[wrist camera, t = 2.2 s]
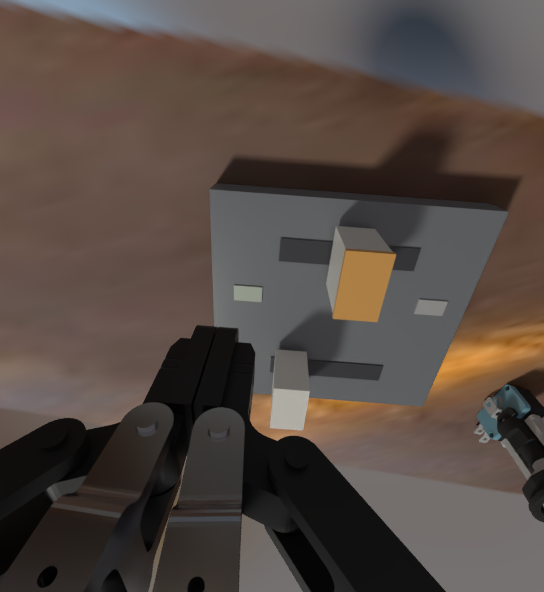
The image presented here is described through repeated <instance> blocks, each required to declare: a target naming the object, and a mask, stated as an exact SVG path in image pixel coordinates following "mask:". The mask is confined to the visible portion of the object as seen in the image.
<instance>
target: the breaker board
mask: <svg viewBox="0 0 544 592" xmlns="http://www.w3.org/2000/svg"><path fill="white" fill-rule="evenodd" d="M508 213H509V211H506V210H504V209H502V208H500V207H497V206H495V205H493V204H491V203H478V202H464V201H451V200H437V199H424V198H411V197H397V196H384V195H370V194H357V193H344V192H330V191H317V190H303V189H290V188H276V187H263V186H250V185H236V184H223V183H216V184H215V185H214V186H212V187H211V188H210V216H211V244H212V273H213V301H214V327H229V328H238V329H239V342H242V343H251V344H252V347H253V349H254V351H255V373H254V388H253V393H257V394H270V395H272V401H271V419H270V428H277V429H290V430H303V428H304V422H305V416H306V410H307V405H308V399H309V398H321V399H334V400H346V401H359V402H372V403H385V404H397V405H410V406H423V405H424V403H425V400H426V398H427V396H428V394H429V391H430V389H431V387H432V385H433V382H434V380H435V378H436V376H437V373H438V371H439V369H440V366H441V364H442V362H443V360H444V357H445V355H446V353H447V351H448V348H449V346H450V344H451V342H452V339H453V337H454V335H455V333H456V330H457V328H458V326H459V324H460V321H461V319H462V317H463V314H464V312H465V310H466V308H467V305H468V303H469V301H470V299H471V296H472V294H473V292H474V290H475V287H476V285H477V283H478V281H479V278H480V276H481V274H482V272H483V269H484V267H485V265H486V262H487V260H488V258H489V256H490V253H491V251H492V249H493V247H494V244H495V242H496V240H497V238H498V235H499V233H500V231H501V229H502V226H503V224H504V222H505V220H506V217H507V215H508ZM336 226H344V227H357V228H371V229H376V231H377V232H378V233H379V235H380V236H381V237H382V239H383V240H384V241H385V243H386V244H387V245H388V247H389V248H390V249H391V250H392V252H395V253H396V258H395V261H394V265H393V268H392V272H391V275H390V279H389V283H388V286H387V290H386V293H385V297H384V300H383V304H382V307H381V311H380V314H379V318H378V322H367V321H354V320H341V319H333V317H332V314H333V312H332V308H331V303H330V299H329V294H328V290H327V285H326V281H327V275H328V269H329V264H330V258H331V252H332V246H333V240H334V234H335V228H336Z"/></svg>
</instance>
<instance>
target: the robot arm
mask: <svg viewBox="0 0 544 592" xmlns="http://www.w3.org/2000/svg"><path fill="white" fill-rule="evenodd" d="M254 373H255V351H254V349H253V347H252V344H251V343H242V342H239V329H238V328H229V327H214V326H201V325H197V326H196V328H195V330H194V332H193V335H192V337H191V339H188V338H180V339H179V340H178V341H177V342H176V343H174V344H173V345H172V346H171V347H170V349H169V351H168V353H167V355H166V357H165V360H164V361H163V363H162V365H161V369H159V371H158V374H157V376H156V378H155V380H154V382H153V384H152V386H151V388H150V390H149V392H148V394H147V396H146V398H145V400H144V402H143V404H142V405H139V406H137V407H135V408H134V409H132V410H131V411H129V412H128V413H127V414H126V415H125V416H124V418H123V419H122V421H121V422H119V423H117V424H113V425H109V426H104V427H99V428H94V429H89V430H86V428H85V426H84V424H83V423H82V422H81V421H79V420H77V419H73V418H63V419H58V420H54V421H52V422H49V423H47V424H45V425H43V426H41V427H40V428H38V429H36V430H34V431H32V432H31V433H29V434H27V435H25V436H23V437H22V438H20V439H18V440H16V441H14V442H13V443H11V444H9V445H7V446H5V447H4V448H2V449H0V592H148V591H149V587H150V582H151V578H152V571H153V563H154V558H155V555H156V551H157V549H158V546H159V543H160V540H161V537H162V534H163V532H164V529H165V526H166V523H167V521H168V524H167V528H166V532H165V538H164V542H163V547H162V551H161V555H160V560H159V564H158V569H157V573H156V578H155V582H154V587H153V592H239V572H240V545H241V522H242V514H244V515H246V516H248V517H250V518H252V519H254V520H256V521H258V522H260V523H262V524H264V526H265V529H266V531H267V533H268V534H269V536H270V538H271V539H272V541H273V542H274V544H275V546H276V548H277V549H278V551H279V552H280V554H281V556H282V557H283V559H284V561H285V562H286V564H287V566H288V567H289V569H290V571H291V572H292V574H293V576H294V577H295V579H296V581H297V582H298V584H299V586H300V587H301V589H302V591H303V592H446V591H445V590H444V589H443V588H442V587H441V586H440V585H439V584H438V582H437V581H436V580H435V579H434V578H433V577H432V576H431V575H430V574H429V572H428V571H427V570H426V569H425V568H424V567H423V566H422V564H421V563H420V562H419V561H418V560H417V559H416V558H415V556H414V555H413V554H412V553H411V552H410V551H409V550H408V549H407V547H406V546H405V545H404V544H403V543H402V542H401V541H400V540H399V539H398V537H397V536H396V535H395V534H394V533H393V532H392V531H391V530H390V528H389V527H388V526H387V525H386V524H385V523H384V522H383V521H382V519H381V518H380V517H379V516H378V515H377V514H376V513H375V511H374V510H373V509H372V508H371V507H370V506H369V505H368V504H367V502H365V500H364V499H363V498H362V497H361V496H360V495H359V493H358V492H357V491H356V490H355V489H354V488H353V487H352V486H351V485H350V483H349V482H348V481H347V480H346V479H345V478H344V477H343V475H341V473H340V472H339V471H338V470H337V469H336V468H335V466H334V465H333V464H332V463H331V462H330V461H329V460H328V459H327V457H326V456H325V455H324V454H323V453H322V452H321V451H320V450H319V448H318V447H317V446H316V445H315V444H314V443H312V442H311V441H310V440H308V439H306V438H303V437H300V436H287V437H284V438H282V439H280V440H278V441H276V440H273V439H271V438H268V437H266V436H264V435H262V434H261V433H259V432H258V431H257V430H256V429H255V428H254V427H253V426H252V424H251V422H250V413H251V405H252V396H253V388H254ZM186 456H187V460H186V465H185V469H184V474H183V479H182V469H183V466H184V462H185V459H186ZM181 480H182V484H181ZM180 484H181V489H180V494H179V498H178V502H177V505H176V506H174V507H173V504H174V501H175V498H176V495H177V492H178V490H179V487H180ZM172 507H173V509H172ZM171 509H172V510H171ZM170 512H171V513H170ZM169 515H170V516H169ZM168 518H169V520H168Z"/></svg>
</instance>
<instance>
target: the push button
mask: <svg viewBox="0 0 544 592" xmlns="http://www.w3.org/2000/svg"><path fill="white" fill-rule="evenodd" d="M488 402H489V403H488ZM483 406H484V408H483V409H482V410H481V411H480V412H479V413H478V415H477V418H478V420H479V422H480V424H479V427H478V428H477V429H476V430H475V431H474V433H475V434H479V435H480V434H482V433H483V432H484V431H486V432H485V433H484V435H483V436H482V437H481V438H480V439H479V442H483V443H486V442H487V441H488V440H490V439H494V440H498V441H502V442H501V444H502V446H503V447H505V448H507V450H508V451H509V453H510V454H511V456H512V457H513V459H514V460H515V462H516V464H517V465H518V467H519V468H520V470H521V471H522V473H523V474H524V476H525V477H526V479H527V480H528V481H527V482H526V484H525V485H524V487H523V488H522V490H523V493H524V496H525V497H526V499H527V500H528V502H529V510H530V511H531V513H532V515H533V516H534V517H535V518H536V519H537V520H539V521H542V522H544V425H543V424H542V421H543V420H542V417H544V407H543V406H542V405H541V404H540V403H539V401H538V400H537V399H536V398H535V397H534V396H533V395H532V393H531V392H530V391H529V390H526V389H522V388H519V387H515V386H512V385H508V384H506V385H505V386H504V387H503V388H502V389H501V390H500V391H499V392H498V393H497V394H496V395H495V397H494V398H493V399H492V398H490V397H488V398H487V399H486V400H485V401H484V402H483ZM480 429H481V430H482V431H480V432H479V431H478V430H480ZM484 438H487V439H486V440H483V439H484Z"/></svg>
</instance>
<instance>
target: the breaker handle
mask: <svg viewBox="0 0 544 592" xmlns="http://www.w3.org/2000/svg"><path fill="white" fill-rule="evenodd" d="M395 258H396V253H395V252H392V250H391V249H390V248H389V247H388V245H387V244H386V243H385V241H384V240H383V239H382V237H381V236H380V235H379V233H378V232H377V231H376V229H371V228H357V227H344V226H336V228H335V234H334V240H333V246H332V252H331V258H330V264H329V269H328V275H327V281H326V285H327V290H328V294H329V299H330V303H331V308H332V312H333V314H332V317H333V319H341V320H354V321H367V322H378V318H379V314H380V311H381V307H382V304H383V300H384V297H385V293H386V290H387V286H388V283H389V279H390V275H391V272H392V268H393V265H394V261H395Z"/></svg>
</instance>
